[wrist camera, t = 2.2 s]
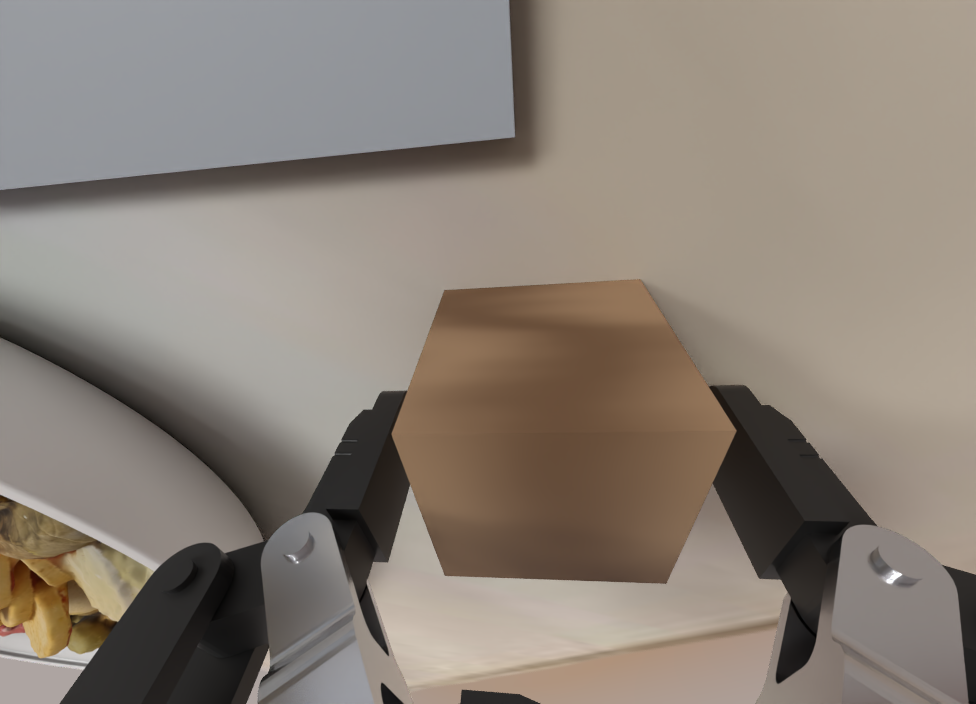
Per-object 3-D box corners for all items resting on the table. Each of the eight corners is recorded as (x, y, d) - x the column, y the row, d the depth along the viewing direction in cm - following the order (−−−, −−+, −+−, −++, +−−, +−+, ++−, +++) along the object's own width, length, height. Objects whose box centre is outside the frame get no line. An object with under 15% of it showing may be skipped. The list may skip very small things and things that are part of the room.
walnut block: (468, 418, 14) (445, 575, 9) (444, 289, 11) (391, 434, 6) (616, 416, 13) (666, 583, 9) (639, 277, 10) (736, 430, 5)
